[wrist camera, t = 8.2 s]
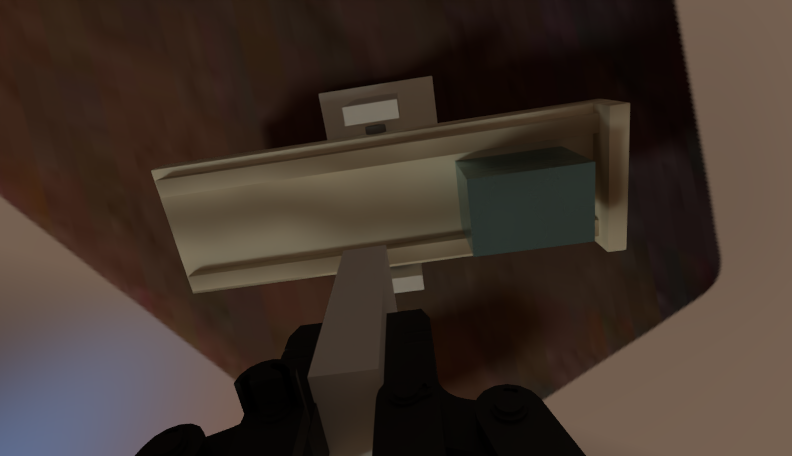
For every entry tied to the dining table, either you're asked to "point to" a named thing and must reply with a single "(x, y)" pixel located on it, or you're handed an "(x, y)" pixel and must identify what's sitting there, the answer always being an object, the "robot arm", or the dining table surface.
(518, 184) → the rider
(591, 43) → the dining table surface
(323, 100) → the pivot stand
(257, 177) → the balance beam
